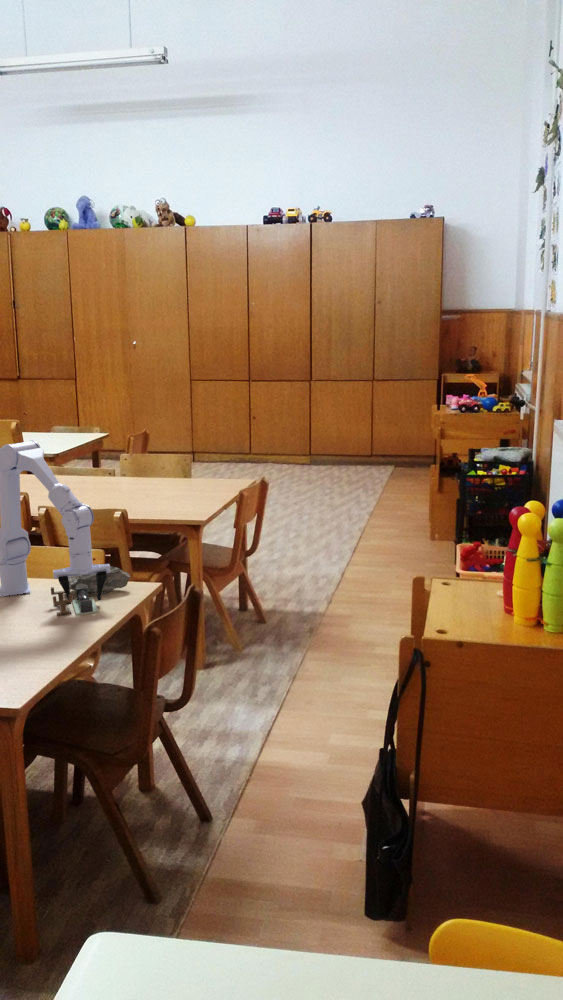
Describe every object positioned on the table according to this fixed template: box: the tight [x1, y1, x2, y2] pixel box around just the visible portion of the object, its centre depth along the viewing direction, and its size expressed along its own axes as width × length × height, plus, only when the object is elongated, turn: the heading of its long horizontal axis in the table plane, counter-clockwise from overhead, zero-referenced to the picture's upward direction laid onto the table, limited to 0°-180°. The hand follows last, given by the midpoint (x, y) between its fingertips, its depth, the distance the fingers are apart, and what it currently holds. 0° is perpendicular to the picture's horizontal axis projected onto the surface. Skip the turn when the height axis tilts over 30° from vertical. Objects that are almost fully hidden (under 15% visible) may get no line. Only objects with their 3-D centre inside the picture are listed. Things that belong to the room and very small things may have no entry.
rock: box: [68, 566, 131, 595], centre depth 227 cm, size 18×10×10 cm
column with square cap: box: [75, 587, 93, 613], centre depth 214 cm, size 12×3×3 cm, turn 19°
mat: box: [72, 596, 99, 616], centre depth 214 cm, size 12×6×1 cm, turn 19°
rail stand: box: [50, 586, 74, 617], centre depth 212 cm, size 10×5×5 cm, turn 19°
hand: (84, 601), depth 214 cm, fingers open, 7 cm apart
